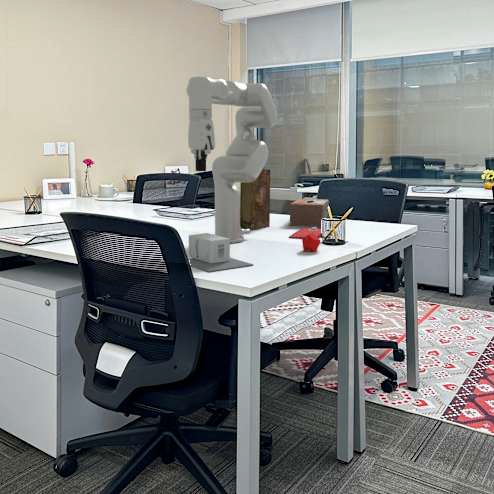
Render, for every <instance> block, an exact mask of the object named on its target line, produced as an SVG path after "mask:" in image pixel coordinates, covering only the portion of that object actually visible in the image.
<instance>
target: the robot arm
mask: <svg viewBox="0 0 494 494" xmlns="http://www.w3.org/2000/svg"><path fill="white" fill-rule="evenodd" d="M186 94H187V97H188V119H189V122H188V131H187V132H188V133H187V135H188V136H187V137H188V138H187V142H188V145H187V146H188V148H189V149H190V153H191V154H193V155H194V160H195V171H196V172H206V171H207V159H208V155H210V154H212V151H213V150H214V149H215V148H216V138H215V128H214V126H215V125H214V122H213V121H214V120H213V117H212V115H213V113H212V111H213V110H212V109H213V104H215V105H222V106H234V107H239V108H238V109H237V110H236V113H235V117H234V118H235V122H234V123H235V129H236V130H235V131H236V135H235V137H234V138H233V140H232V141H231V143H230V144H229V146H228V147H227V150H226V152H225V155H222V156H218V157H216V158H215V159H214V161H213V162H212V164H211V172H212V177H213V183H214V235H217V236H221V237H225V238H229V239H230V244H233V243H235V244H236V243H242V242H244V241H245V236H244V235H250V234H251V230H250V229H242V228H240V189H239V188H238V186H237V183H240V182H242V183H250V182H254V181H255V180H256V179H257V177H258V176H259V174H260V172H261V171H262V169H264V167H265V165H266V163H267V161H268V157H269V148H268V146H267V144H266V143H265V142H264V141H262V140H258V139H257V136H256V134H255V133H254V131H253V130H252V129H253V128H254V129H257V128H258V129H260V128H261V129H270V128H273V127H275V126H276V124H277V123H278V117H279V116H278V111H277V107H276V105H275V103H274V100H273V97H272V95H271V92H270V90H269V89H268V87H267V85H265V84H264V83H260V82H259V83H258V82H257V83H242V82H237V81H233V80H224V79H222V78H210V77H207V76H192V77H190V78H189V80H188V84H187V86H186Z"/></svg>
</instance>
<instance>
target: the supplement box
mask: <svg viewBox="0 0 494 494" xmlns="http://www.w3.org/2000/svg"><path fill="white" fill-rule="evenodd" d="M230 246H231V243H230V239H229V238H225V237H221V236H217V235H215V234H212V233H208V232H205V233H197V234H188V257H189V258H190V259H192V258H194V259H198V260H201V261H204V262H208V263H211V264H212V263H219V262H226V261H230V258H231V257H230V256H231V255H230V254H231V253H230V251H231V249H230V248H231V247H230Z"/></svg>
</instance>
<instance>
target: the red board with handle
mask: <svg viewBox="0 0 494 494" xmlns="http://www.w3.org/2000/svg"><path fill="white" fill-rule="evenodd" d="M311 233H313V234H314V235H315V236H316V237H317V238H318V239H319V240H320V238H323V237H322V233H321V227H310V228H309V227H301V228H300V229H298V230H297V231H295V232H294V233H292V234H291V235H289V236H288V239H296V240H298V239H299V240H302V238H303V237H305V236H307V235H309V234H311Z"/></svg>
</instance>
